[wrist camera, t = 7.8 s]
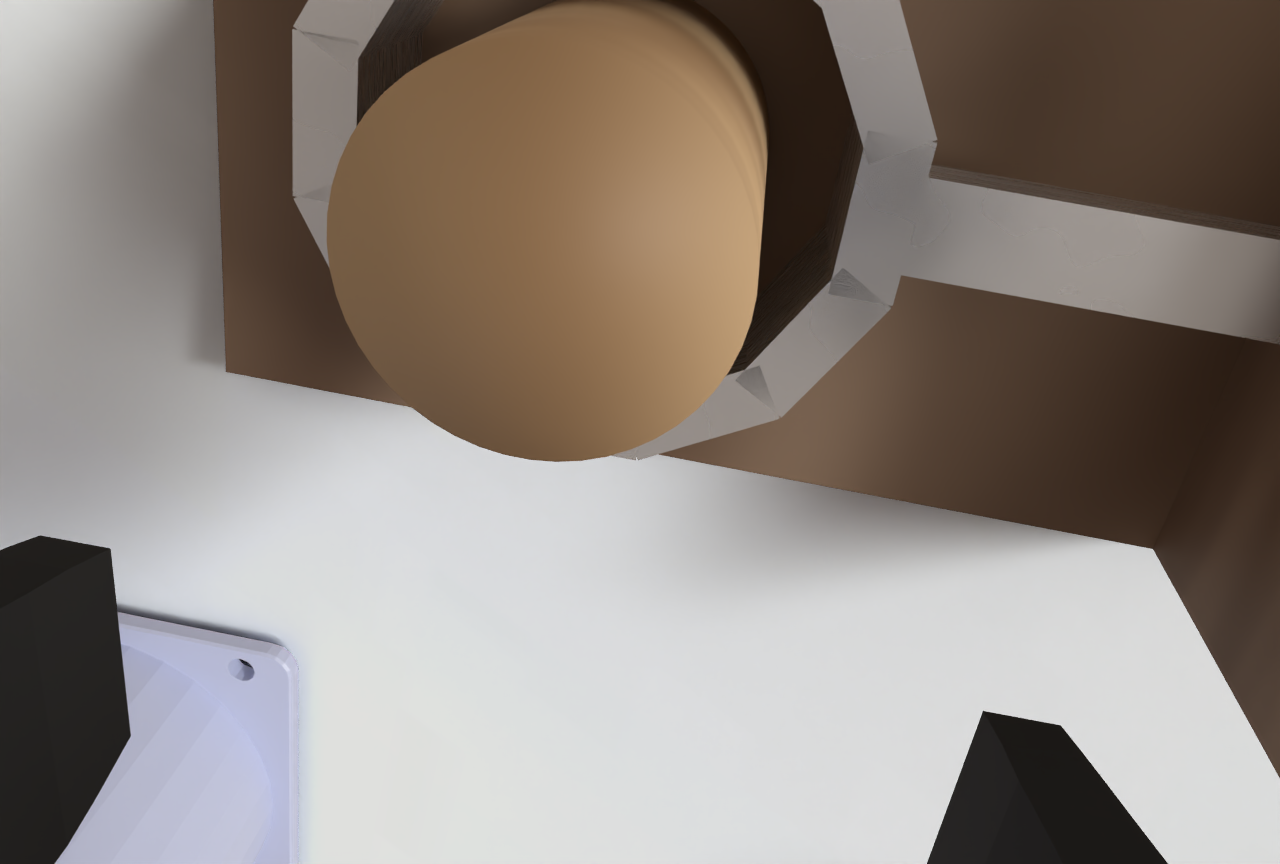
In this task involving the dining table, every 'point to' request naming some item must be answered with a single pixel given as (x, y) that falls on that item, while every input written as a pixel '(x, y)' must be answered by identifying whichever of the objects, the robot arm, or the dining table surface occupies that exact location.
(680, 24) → the oak peg
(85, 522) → the dining table surface
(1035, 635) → the dining table surface
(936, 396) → the cup bracket
